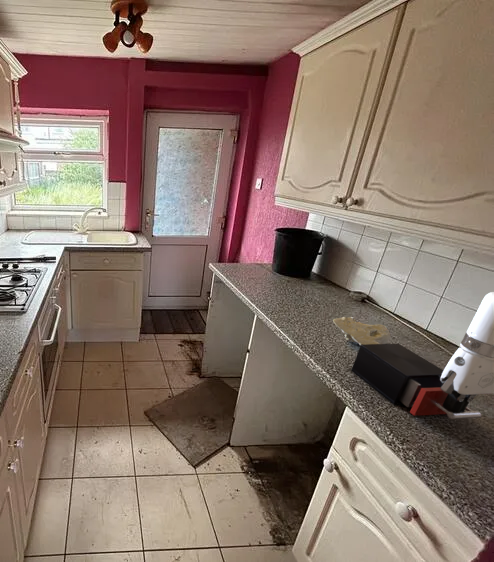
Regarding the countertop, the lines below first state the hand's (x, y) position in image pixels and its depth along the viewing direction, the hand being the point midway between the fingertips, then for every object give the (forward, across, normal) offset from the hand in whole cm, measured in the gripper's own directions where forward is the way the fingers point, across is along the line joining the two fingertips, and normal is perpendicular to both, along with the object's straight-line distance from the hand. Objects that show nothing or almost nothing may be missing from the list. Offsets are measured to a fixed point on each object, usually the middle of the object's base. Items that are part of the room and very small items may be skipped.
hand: (451, 410), depth 76 cm
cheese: (+5, +7, +36) cm, 37 cm away
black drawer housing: (+5, 0, +15) cm, 15 cm away
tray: (+4, 0, +6) cm, 8 cm away
